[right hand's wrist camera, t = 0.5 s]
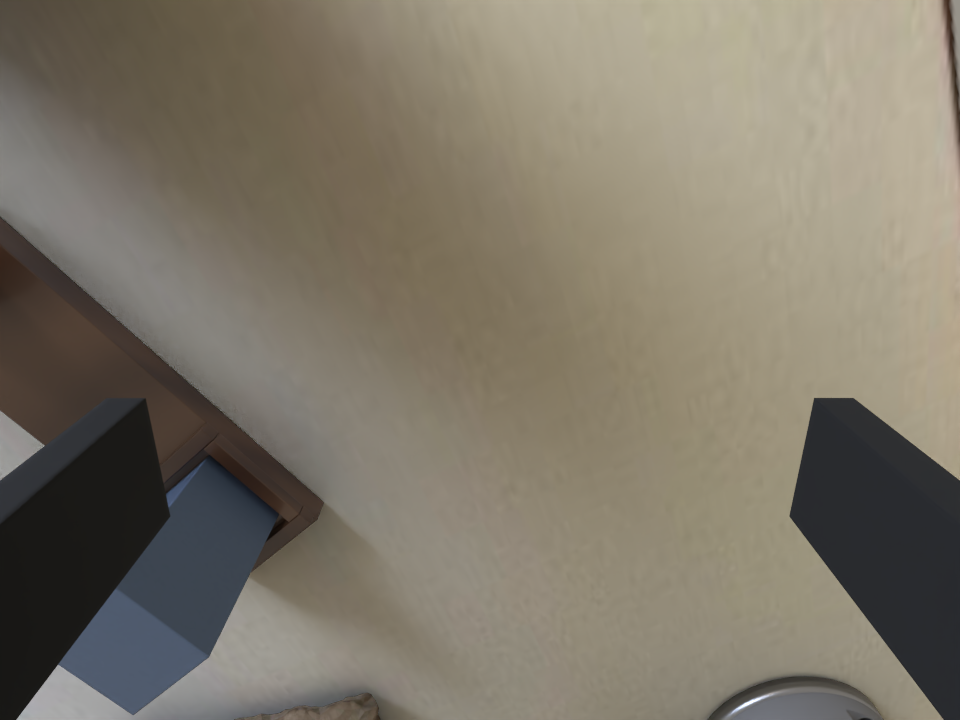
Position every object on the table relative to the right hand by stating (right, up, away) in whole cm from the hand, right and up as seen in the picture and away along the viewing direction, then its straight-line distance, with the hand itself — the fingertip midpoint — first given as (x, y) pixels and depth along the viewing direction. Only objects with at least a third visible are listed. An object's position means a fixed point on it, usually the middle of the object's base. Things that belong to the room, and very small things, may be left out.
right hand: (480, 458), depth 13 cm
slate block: (-18, -8, +30) cm, 35 cm away
